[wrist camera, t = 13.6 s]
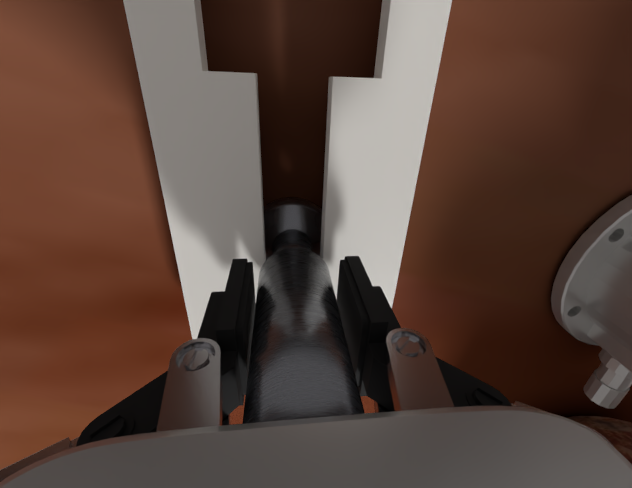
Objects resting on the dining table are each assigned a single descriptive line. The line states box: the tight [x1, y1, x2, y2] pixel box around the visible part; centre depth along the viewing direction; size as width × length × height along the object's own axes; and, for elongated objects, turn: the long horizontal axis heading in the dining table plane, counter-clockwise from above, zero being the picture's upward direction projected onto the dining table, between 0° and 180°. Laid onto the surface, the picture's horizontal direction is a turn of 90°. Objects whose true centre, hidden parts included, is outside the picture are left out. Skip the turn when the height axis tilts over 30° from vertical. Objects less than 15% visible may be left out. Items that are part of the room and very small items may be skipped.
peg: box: [243, 197, 365, 424], centre depth 11 cm, size 4×4×12 cm
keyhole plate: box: [123, 0, 452, 339], centre depth 13 cm, size 20×10×3 cm, turn 178°
